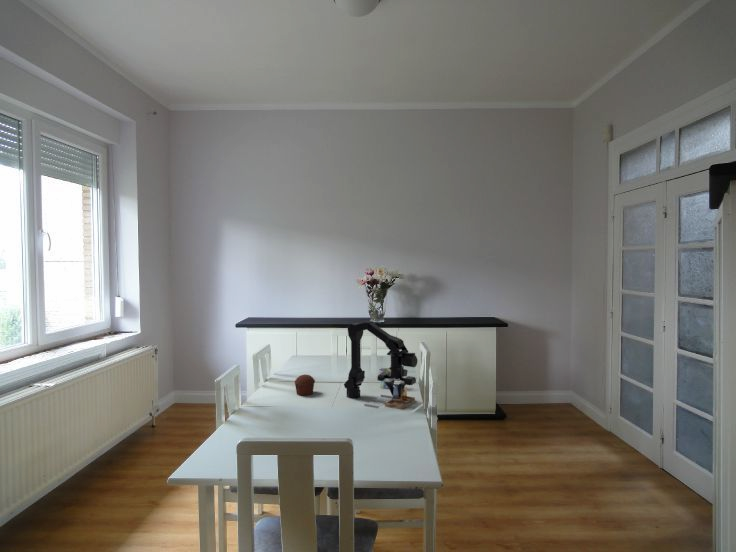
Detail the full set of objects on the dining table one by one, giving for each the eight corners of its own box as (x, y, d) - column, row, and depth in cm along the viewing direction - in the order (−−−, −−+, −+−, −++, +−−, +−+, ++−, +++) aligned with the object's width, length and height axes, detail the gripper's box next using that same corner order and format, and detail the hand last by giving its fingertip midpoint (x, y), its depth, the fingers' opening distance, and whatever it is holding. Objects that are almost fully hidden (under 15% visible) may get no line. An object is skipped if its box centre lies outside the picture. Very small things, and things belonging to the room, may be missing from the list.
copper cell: (398, 401, 231) (398, 387, 231) (401, 399, 234) (401, 385, 234) (405, 402, 229) (405, 388, 229) (408, 400, 233) (408, 386, 232)
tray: (384, 408, 224) (384, 403, 224) (399, 399, 238) (399, 394, 238) (401, 411, 219) (401, 406, 219) (415, 401, 233) (414, 397, 233)
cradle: (364, 407, 225) (363, 403, 225) (381, 397, 241) (381, 394, 241) (376, 409, 222) (376, 406, 222) (393, 399, 237) (393, 396, 237)
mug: (378, 386, 262) (378, 368, 262) (394, 385, 263) (394, 367, 263) (380, 392, 250) (380, 373, 250) (397, 391, 251) (397, 372, 251)
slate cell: (391, 398, 224) (391, 384, 224) (394, 396, 228) (394, 382, 227) (398, 399, 223) (398, 385, 222) (401, 397, 226) (401, 383, 225)
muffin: (311, 397, 243) (310, 378, 242) (291, 396, 245) (291, 377, 245) (317, 390, 254) (317, 373, 254) (299, 389, 257) (298, 372, 256)
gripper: (420, 363, 227) (420, 394, 227) (387, 359, 236) (387, 389, 237) (411, 368, 217) (411, 400, 218) (376, 363, 226) (377, 395, 227)
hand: (396, 396), depth 225 cm, fingers closed on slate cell, 4 cm apart
